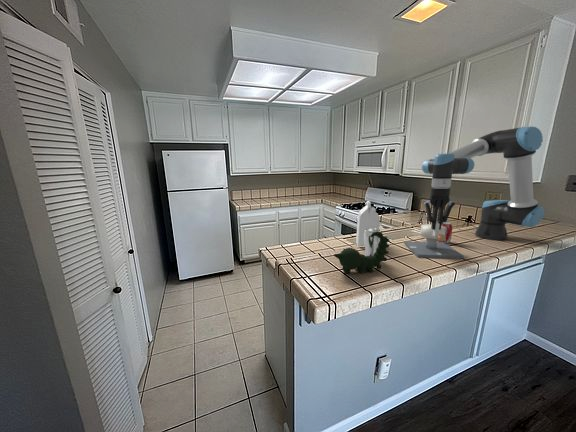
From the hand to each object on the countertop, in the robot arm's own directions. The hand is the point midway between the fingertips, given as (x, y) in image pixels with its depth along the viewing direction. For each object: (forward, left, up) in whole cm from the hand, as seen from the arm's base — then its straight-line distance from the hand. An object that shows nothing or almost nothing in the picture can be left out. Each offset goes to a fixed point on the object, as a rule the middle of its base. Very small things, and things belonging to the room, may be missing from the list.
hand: (435, 235), depth 111 cm
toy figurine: (+38, +18, -12) cm, 43 cm away
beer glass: (+31, +3, -12) cm, 33 cm away
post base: (-3, -11, -12) cm, 16 cm away
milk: (+29, -19, -12) cm, 36 cm away
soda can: (-16, -26, -12) cm, 33 cm away
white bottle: (-3, -6, -3) cm, 7 cm away
